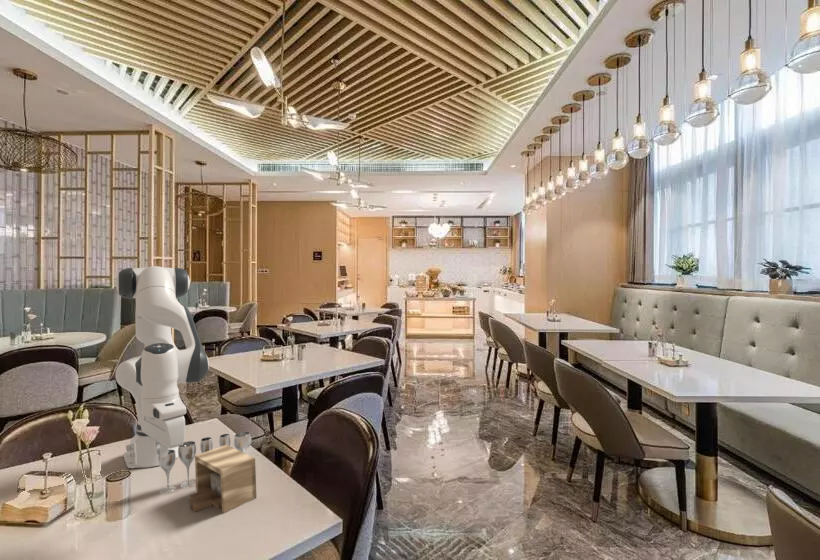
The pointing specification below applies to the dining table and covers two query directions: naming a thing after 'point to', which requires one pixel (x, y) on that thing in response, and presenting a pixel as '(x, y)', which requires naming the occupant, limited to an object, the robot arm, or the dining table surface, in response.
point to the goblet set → (189, 452)
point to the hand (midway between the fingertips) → (162, 455)
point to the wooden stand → (227, 475)
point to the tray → (208, 495)
